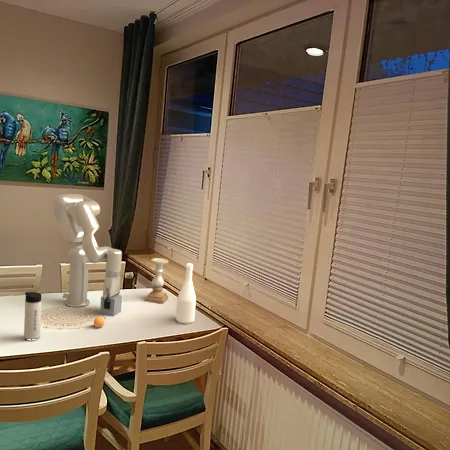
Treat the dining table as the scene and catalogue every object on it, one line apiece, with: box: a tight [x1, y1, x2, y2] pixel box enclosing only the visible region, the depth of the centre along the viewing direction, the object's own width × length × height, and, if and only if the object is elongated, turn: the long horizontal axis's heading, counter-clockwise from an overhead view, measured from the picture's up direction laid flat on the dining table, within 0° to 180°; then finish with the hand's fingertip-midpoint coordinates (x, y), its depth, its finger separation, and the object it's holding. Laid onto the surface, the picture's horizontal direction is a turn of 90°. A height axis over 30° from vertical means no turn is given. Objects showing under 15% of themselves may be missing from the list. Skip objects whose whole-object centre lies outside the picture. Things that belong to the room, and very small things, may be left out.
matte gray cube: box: [99, 294, 123, 317], centre depth 224 cm, size 8×8×9 cm
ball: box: [93, 316, 106, 328], centre depth 204 cm, size 5×5×5 cm
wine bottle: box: [175, 262, 197, 325], centre depth 221 cm, size 10×10×30 cm
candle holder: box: [144, 257, 169, 305], centre depth 251 cm, size 11×11×24 cm
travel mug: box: [23, 291, 42, 340], centre depth 184 cm, size 6×7×20 cm
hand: (111, 306), depth 224 cm, fingers closed on matte gray cube, 7 cm apart
